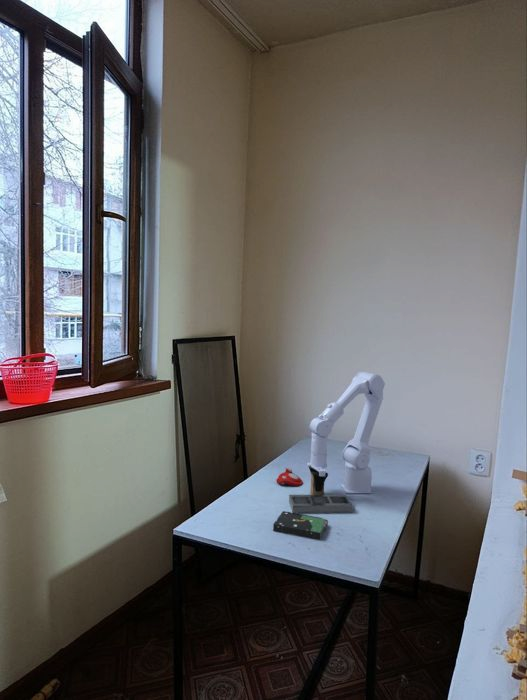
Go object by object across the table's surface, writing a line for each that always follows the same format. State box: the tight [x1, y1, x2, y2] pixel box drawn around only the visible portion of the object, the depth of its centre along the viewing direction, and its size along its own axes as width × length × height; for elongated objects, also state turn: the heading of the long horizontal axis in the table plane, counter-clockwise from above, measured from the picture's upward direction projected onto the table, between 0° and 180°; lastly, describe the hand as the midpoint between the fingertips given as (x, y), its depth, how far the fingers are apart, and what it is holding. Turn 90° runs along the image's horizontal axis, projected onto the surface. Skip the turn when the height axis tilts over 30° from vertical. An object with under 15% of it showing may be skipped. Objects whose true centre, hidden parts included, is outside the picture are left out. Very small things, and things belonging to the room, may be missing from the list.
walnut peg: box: [310, 472, 325, 495], centre depth 174 cm, size 4×4×8 cm
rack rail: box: [288, 494, 354, 514], centre depth 164 cm, size 20×9×2 cm, turn 95°
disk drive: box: [272, 510, 329, 541], centre depth 149 cm, size 10×3×15 cm
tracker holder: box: [275, 466, 303, 487], centre depth 187 cm, size 13×5×10 cm
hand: (317, 488), depth 174 cm, fingers closed on walnut peg, 4 cm apart
